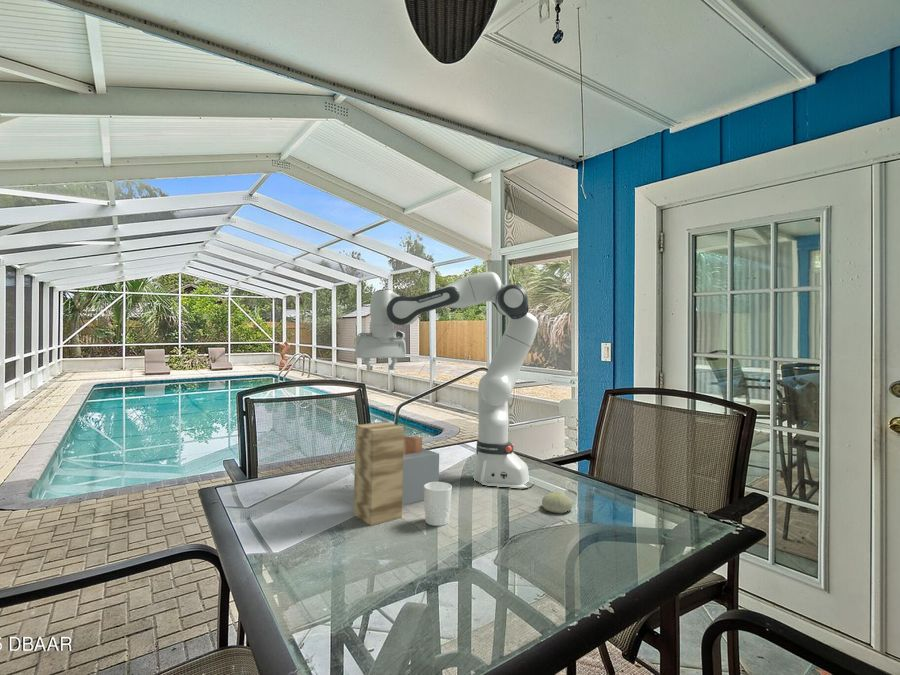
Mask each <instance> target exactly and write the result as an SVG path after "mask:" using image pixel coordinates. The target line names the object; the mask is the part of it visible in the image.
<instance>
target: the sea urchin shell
mask: <svg viewBox="0 0 900 675" xmlns="http://www.w3.org/2000/svg"><path fill="white" fill-rule="evenodd" d="M541 502H542V503H541V505H542V507H543V509H544V510H545V511H548V512H550V513H555V514H565V512H566V513H568V512H570V511H571V510H572V508H573V501H572V499H571V498H570V497H569V496H568V495H567V494H565V493H564V492H561V491H552V492H547V493H546V494H545V495H544V496H543V498H542V499H541ZM567 511H568V512H567Z"/></svg>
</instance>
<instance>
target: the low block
mask: <svg viewBox="0 0 900 675" xmlns="http://www.w3.org/2000/svg"><path fill="white" fill-rule="evenodd" d="M439 476H440V453H438V452H436V451H432V450H429V449H427V448H423V447H422V452H416V453H410V454H404V455H403V488H402V507H403V506H405V505H406V506H407V505H410V504H414V502H415V503H418V501H419V502H422V501H421V500H423V501H424V485H425V484H427V483H430V482H440V481H439V478H440V477H439Z"/></svg>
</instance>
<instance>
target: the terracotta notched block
mask: <svg viewBox="0 0 900 675" xmlns="http://www.w3.org/2000/svg"><path fill="white" fill-rule="evenodd" d="M422 448H423V437H421V436H419V435H418V436H416V435H413V436H410V435H409V436H408V435H405V434H404V444H403V455H404V454H410V453H416V452H422Z"/></svg>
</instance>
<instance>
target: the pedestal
mask: <svg viewBox="0 0 900 675" xmlns="http://www.w3.org/2000/svg"><path fill="white" fill-rule="evenodd" d="M404 428H405V427H404V426H403V425H402V426H401V425H398V424H395V423H391V422H388V421H379V422H369V423H368V422H367V423H361V424H355V440H354V441H355V442H354V443H355V445H354V447H355V448H354V483H353V487H354V490H353V493H354V494H353V516H355V517H357V518H358V519H359V520H361V521H363V522H364V523H366V524H367V525H369V526H371V527H372V526H375V525H378V524H383V523H387V522H390V521H394V520H398V519H402V517H403V506H402V488H403V444H404V435H405V434H404V433H405V429H404Z"/></svg>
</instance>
